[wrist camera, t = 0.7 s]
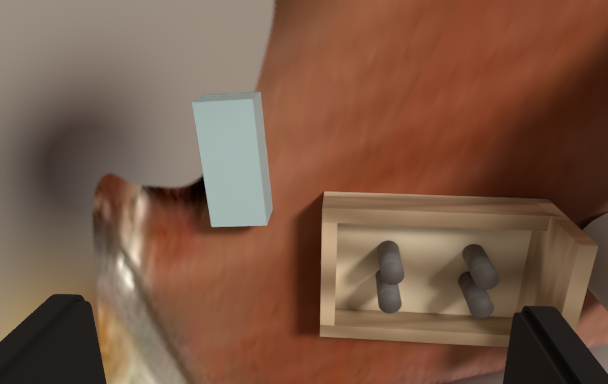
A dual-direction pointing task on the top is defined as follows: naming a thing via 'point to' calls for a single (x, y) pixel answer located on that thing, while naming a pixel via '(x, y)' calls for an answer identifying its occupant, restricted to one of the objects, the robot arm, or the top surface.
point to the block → (234, 158)
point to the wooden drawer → (446, 266)
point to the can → (599, 259)
